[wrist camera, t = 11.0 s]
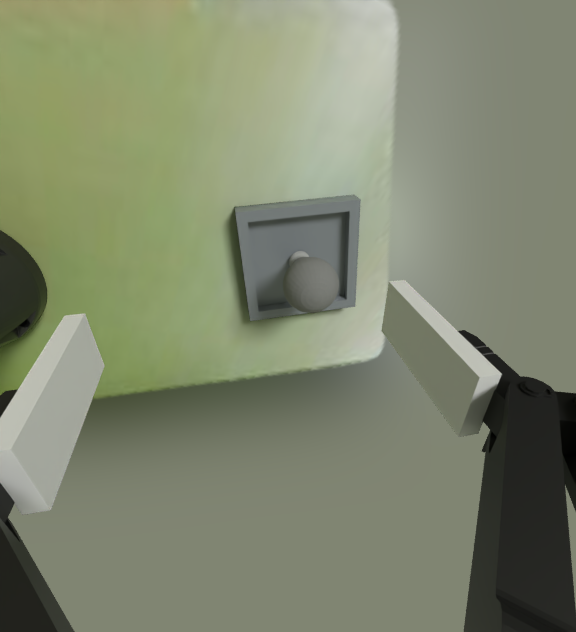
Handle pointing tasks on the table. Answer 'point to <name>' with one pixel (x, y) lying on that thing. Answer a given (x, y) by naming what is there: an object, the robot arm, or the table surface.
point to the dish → (297, 248)
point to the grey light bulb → (310, 283)
